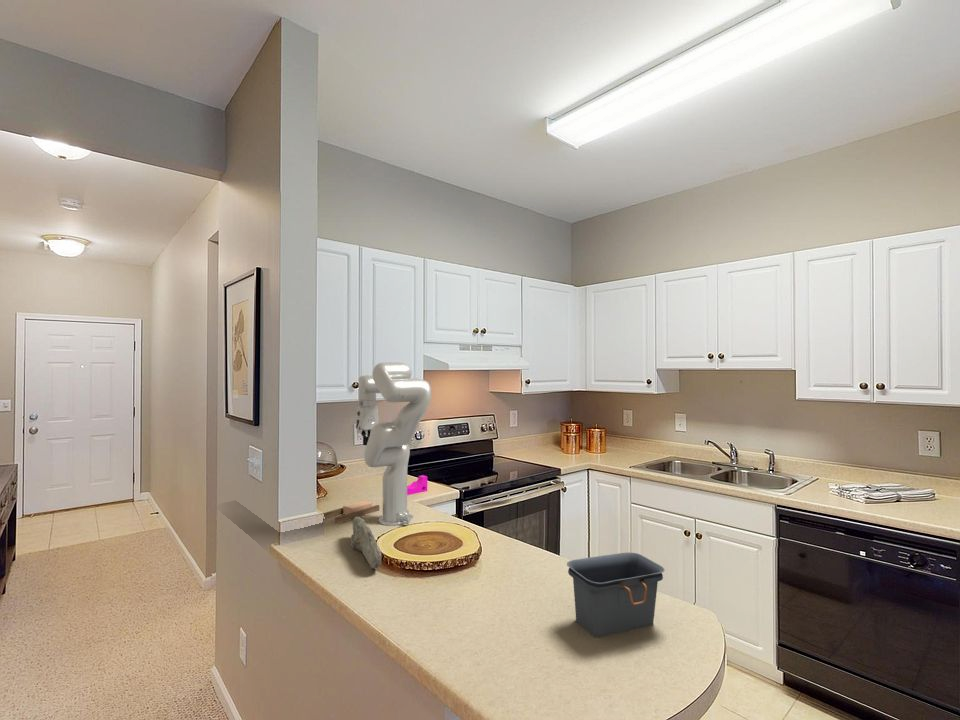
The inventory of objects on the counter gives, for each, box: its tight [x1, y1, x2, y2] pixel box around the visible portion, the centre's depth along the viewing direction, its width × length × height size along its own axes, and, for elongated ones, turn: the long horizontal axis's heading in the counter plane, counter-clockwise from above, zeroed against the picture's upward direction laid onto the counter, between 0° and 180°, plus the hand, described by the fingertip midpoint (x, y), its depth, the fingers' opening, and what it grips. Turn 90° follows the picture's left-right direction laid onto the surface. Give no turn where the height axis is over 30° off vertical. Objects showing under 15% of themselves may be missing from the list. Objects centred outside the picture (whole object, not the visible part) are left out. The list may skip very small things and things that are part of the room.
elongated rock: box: [350, 516, 382, 570], centre depth 160 cm, size 35×5×10 cm, turn 27°
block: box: [342, 500, 373, 515], centre depth 205 cm, size 6×10×4 cm, turn 142°
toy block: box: [407, 474, 428, 496], centre depth 237 cm, size 15×6×8 cm, turn 130°
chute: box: [323, 504, 380, 525], centre depth 202 cm, size 10×22×2 cm, turn 143°
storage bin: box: [566, 552, 665, 639], centre depth 117 cm, size 21×16×14 cm
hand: (366, 444), depth 219 cm, fingers closed
